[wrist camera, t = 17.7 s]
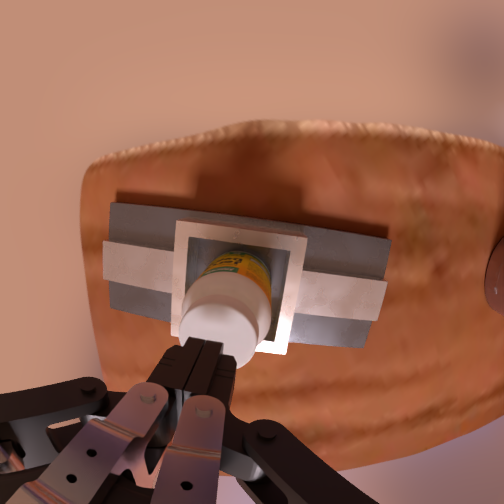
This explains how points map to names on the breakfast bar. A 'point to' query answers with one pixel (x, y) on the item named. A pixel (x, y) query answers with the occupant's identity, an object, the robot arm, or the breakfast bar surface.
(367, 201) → the breakfast bar surface
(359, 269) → the rail collar
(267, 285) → the supplement bottle
